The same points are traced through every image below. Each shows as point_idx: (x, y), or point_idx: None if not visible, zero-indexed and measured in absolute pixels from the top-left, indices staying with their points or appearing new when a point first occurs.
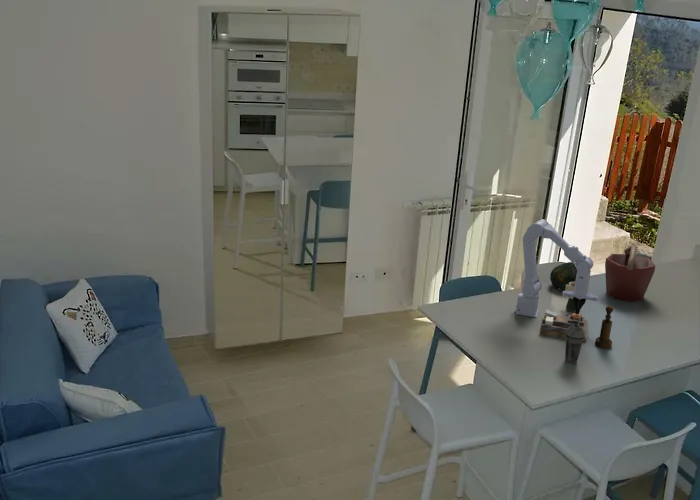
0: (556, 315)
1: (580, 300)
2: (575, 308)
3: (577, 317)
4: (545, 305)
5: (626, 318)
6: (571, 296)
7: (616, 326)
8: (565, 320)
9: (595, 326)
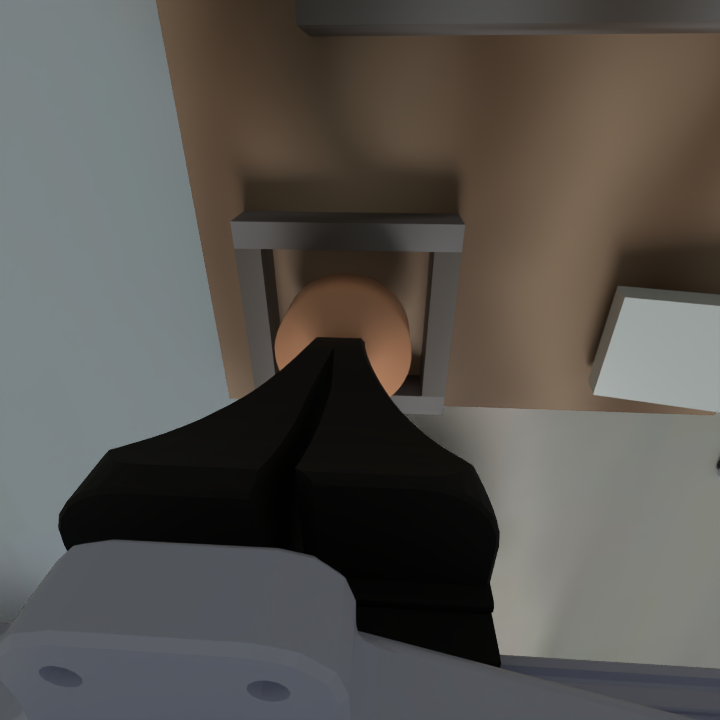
0: (619, 326)
1: (232, 534)
2: (375, 377)
3: (329, 286)
4: (601, 586)
5: (15, 559)
6: (563, 684)
7: (7, 417)
8: (481, 288)
9: (161, 350)
